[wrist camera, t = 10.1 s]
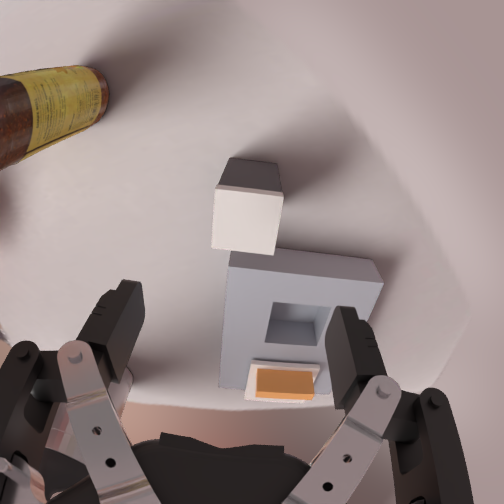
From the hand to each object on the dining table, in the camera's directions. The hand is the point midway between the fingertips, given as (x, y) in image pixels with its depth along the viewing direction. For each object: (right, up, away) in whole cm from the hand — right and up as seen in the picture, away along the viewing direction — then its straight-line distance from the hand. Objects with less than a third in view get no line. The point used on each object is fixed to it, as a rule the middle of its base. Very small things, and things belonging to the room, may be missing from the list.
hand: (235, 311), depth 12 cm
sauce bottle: (-15, +16, +10) cm, 24 cm away
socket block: (+5, -5, +22) cm, 23 cm away
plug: (+1, +8, +14) cm, 16 cm away
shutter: (+4, -13, +21) cm, 25 cm away
